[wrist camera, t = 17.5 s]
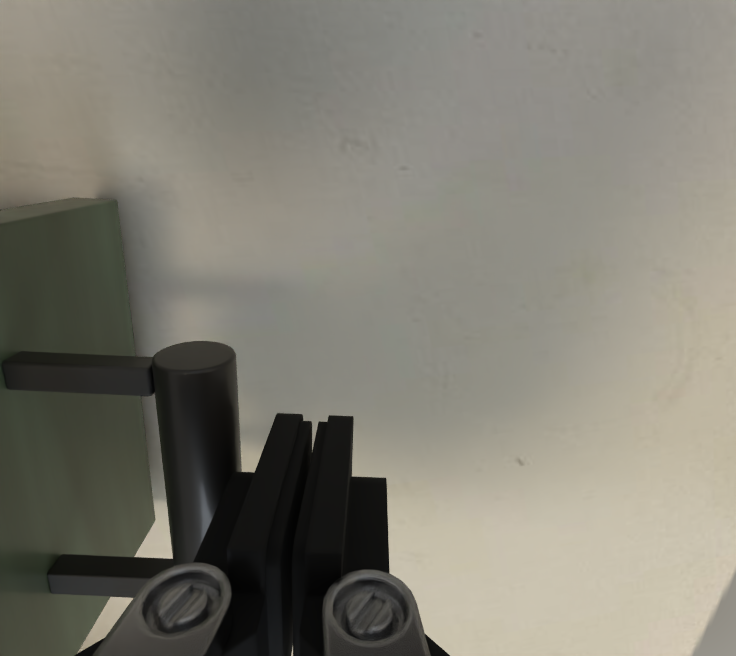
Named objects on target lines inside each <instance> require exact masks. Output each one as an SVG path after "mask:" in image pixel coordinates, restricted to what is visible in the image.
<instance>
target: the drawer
mask: <svg viewBox="0 0 736 656" xmlns="http://www.w3.org/2000/svg"><path fill="white" fill-rule="evenodd" d="M154 393H155V398H156V407H157V416H158V425H159V434H160V444H161V453H162V462H163V471H164V480H165V489H166V498H167V507H168V517H169V526H170V535H171V544H172V553H173V559H163V558H141V557H134V556H135V554H136V552H137V551H138V549H139V547H140V546H141V544H142V542H143V541H144V539H145V537H146V535H147V534H148V532H149V530H150V529H151V527H152V525H153V524H154V522H155V512H154V504H153V496H152V487H151V479H150V471H149V462H148V454H147V446H146V438H145V429H144V421H143V413H142V404H141V396H152V395H153V394H154ZM234 472H242V469H241V448H240V427H239V406H238V385H237V364H236V353H235V352H234V350H233V349H232V348H231V347H230V346H228V345H225V344H222V343H217V342H209V341H194V342H185V343H180V344H176V345H172V346H169V347H166V348H164V349H162V350H160V351H159V352H157V353H156V354H155V355H154V357H138V356H136V355H135V346H134V338H133V330H132V321H131V313H130V305H129V297H128V288H127V280H126V272H125V263H124V255H123V247H122V238H121V230H120V222H119V214H118V205H117V201H116V200H113V199H92V198H68V199H62V200H57V201H51V202H45V203H39V204H33V205H27V206H21V207H15V208H10V209H4V210H0V656H74V655H76V654H77V653H78V651H79V649H80V647H81V646H82V644H83V642H84V641H85V639H86V637H87V636H88V634H89V632H90V630H91V629H92V627H93V625H94V624H95V622H96V620H97V619H98V617H99V615H100V613H101V612H102V610H103V608H104V607H105V605H106V603H107V602H108V600H109V598H110V597H131V598H134V597H135V596H136V594H137V593H138V591H139V590H140V589H141V588H142V587H143V586H144V585H145V584H146V583H147V582H148V581H149V580H150V579H151V578H153V577H154V576H156V575H157V574H159V573H160V572H162V571H164V570H166V569H169V568H171V567H173V566H176V565H180V564H185V563H190V562H193V561H194V559H195V557H196V554H197V552H198V550H199V548H200V545H201V543H202V541H203V538H204V536H205V534H206V532H207V529H208V527H209V525H210V523H211V520H212V518H213V516H214V513H215V511H216V509H217V507H218V504H219V502H220V500H221V498H222V495H223V493H224V491H225V488H226V486H227V484H228V482H229V479H230V477H231V476H232V474H233V473H234Z"/></svg>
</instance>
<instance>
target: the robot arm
mask: <svg viewBox="0 0 736 656" xmlns="http://www.w3.org/2000/svg"><path fill="white" fill-rule="evenodd" d="M352 450H353V416H331V415H329V417H328V422H319V423H318V427H317V432H316V437H315V442H314V447H313V451H312V422H311V421H303V415H302V414H283V413H277V415H276V417H275V419H274V422H273V425H272V428H271V430H270V433H269V436H268V438H267V441H266V444H265V446H264V449H263V452H262V454H261V457H260V460H259V463H258V465H257V468H256V471H255V473H252V472H234V473H233V474H232V476H231V477H230V479H229V482H228V484H227V486H226V488H225V491H224V493H223V495H222V498H221V500H220V502H219V504H218V507H217V509H216V511H215V513H214V516H213V518H212V520H211V523H210V525H209V527H208V529H207V532H206V534H205V536H204V538H203V541H202V543H201V545H200V548H199V550H198V552H197V554H196V557H195V559H194V561H193V562H190V563H185V564H180V565H176V566H173V567H171V568H169V569H166V570H164V571H162V572H160V573H159V574H157V575H156V576H154V577H153V578H151V579H150V580H149V581H148V582H147V583H146V584H145V585H144V586H143V587H142V588H141V589H140V590H139V591H138V593H137V594H136V596H135V597H134V598H133V600H132V601H131V603H130V604H129V605H128V607H127V608H126V610H125V611H124V612H123V614H122V615H121V617H120V618H119V619H118V621H117V622H116V623H115V625H114V626H113V628H112V629H111V630H110V632H109V633H108V635H107V636H106V637H105V638H104V639H102V640H100V641H99V642H97V643H95V644H93V645H92V646H90V647H88V648H87V649H85V650H83V651H81V652H80V653H78V654H76V655H74V656H291V652H292V646H293V656H450V655H449V654H447V653H446V652H445V651H444V650H443V649H442V648H441V647H439V646H438V645H437V644H436V643H435V642H434V641H433V640H431V639H430V638H429V637H428V636H427V635H426V634H425V633H424V629H423V626H422V622H421V618H420V614H419V610H418V607H417V603H416V601H415V598H414V596H413V594H412V592H411V590H410V589H409V588H408V587H407V586H406V585H405V584H404V583H403V582H402V581H401V580H399V579H398V578H396V577H395V576H393V575H391V574H389V547H388V516H387V484H386V478H373V477H352Z"/></svg>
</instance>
